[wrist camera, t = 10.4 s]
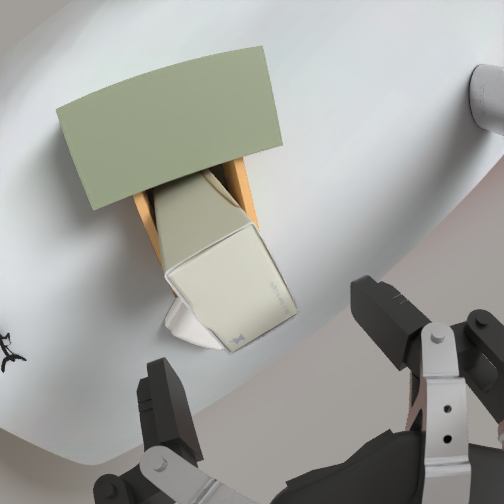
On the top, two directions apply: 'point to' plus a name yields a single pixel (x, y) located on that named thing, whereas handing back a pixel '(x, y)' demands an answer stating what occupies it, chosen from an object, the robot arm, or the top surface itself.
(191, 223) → the skincare box
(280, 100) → the top surface
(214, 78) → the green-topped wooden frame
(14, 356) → the creature
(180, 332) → the soap
